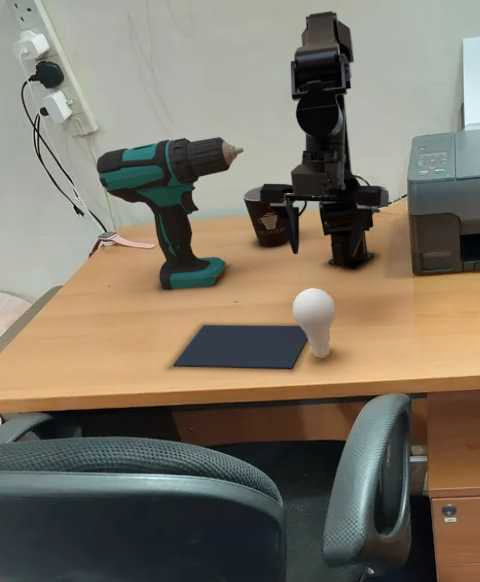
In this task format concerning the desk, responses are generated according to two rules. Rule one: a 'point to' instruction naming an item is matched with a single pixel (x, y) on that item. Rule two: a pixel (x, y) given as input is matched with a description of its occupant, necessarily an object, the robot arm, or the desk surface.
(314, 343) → the white rounded smooth part
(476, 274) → the desk surface
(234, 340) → the felt mat
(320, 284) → the desk surface
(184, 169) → the power drill
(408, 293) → the desk surface
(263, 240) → the coffee mug
